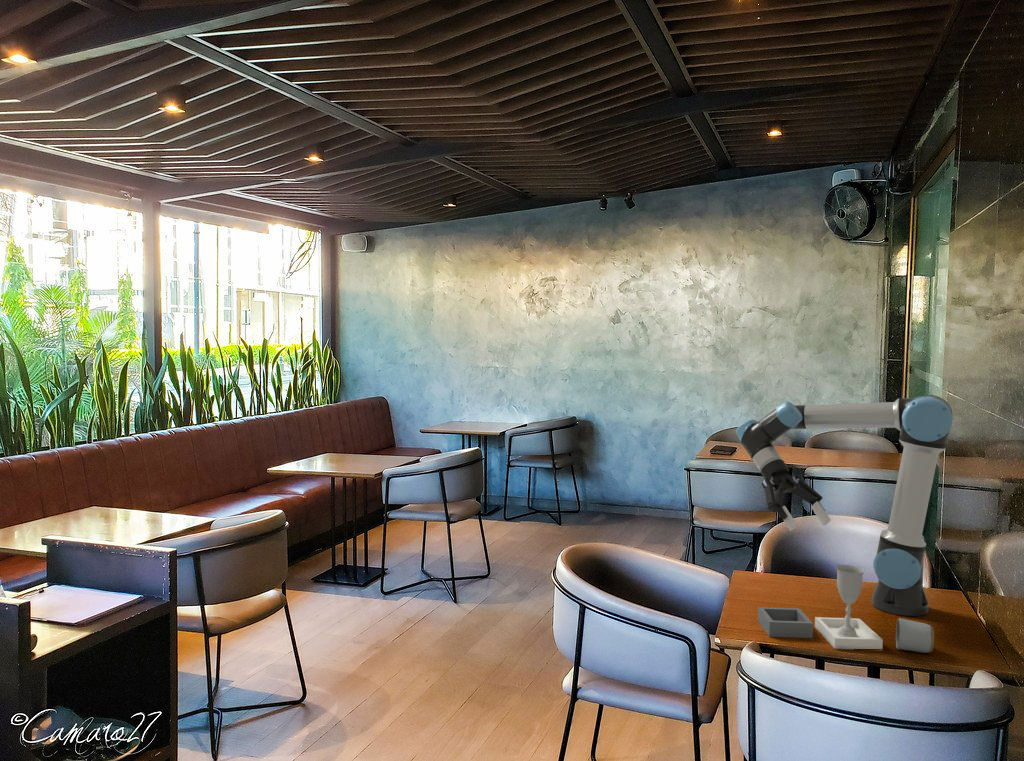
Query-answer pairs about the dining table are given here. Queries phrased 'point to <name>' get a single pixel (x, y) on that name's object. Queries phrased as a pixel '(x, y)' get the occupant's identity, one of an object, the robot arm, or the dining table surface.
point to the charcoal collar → (785, 622)
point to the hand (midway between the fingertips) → (810, 525)
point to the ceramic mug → (914, 636)
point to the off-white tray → (863, 641)
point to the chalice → (848, 593)
